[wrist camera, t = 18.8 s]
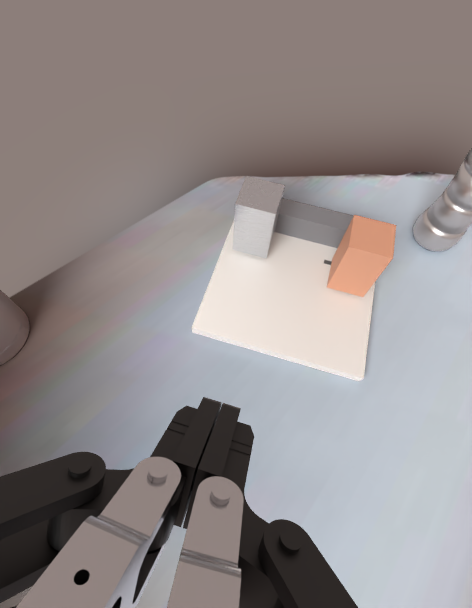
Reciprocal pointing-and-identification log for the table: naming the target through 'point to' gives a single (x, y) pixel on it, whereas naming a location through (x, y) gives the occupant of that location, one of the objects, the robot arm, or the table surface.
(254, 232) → the brushed metal pillar
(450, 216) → the plastic bottle
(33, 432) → the table surface
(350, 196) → the table surface
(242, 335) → the plate
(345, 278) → the tall salmon pillar
